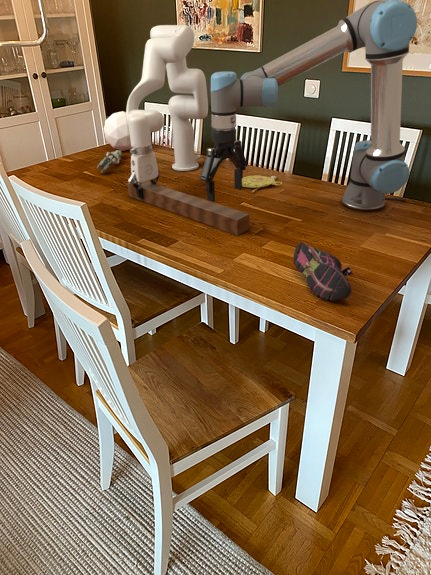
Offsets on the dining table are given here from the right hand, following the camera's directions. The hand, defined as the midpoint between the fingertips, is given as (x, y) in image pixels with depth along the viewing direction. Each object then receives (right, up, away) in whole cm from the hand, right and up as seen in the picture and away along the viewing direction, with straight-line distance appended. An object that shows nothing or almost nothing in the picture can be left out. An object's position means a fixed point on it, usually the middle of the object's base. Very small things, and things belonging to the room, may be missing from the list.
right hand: (224, 194), depth 146 cm
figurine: (-54, +29, +68) cm, 92 cm away
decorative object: (+15, +13, +40) cm, 45 cm away
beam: (-15, -2, +18) cm, 23 cm away
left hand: (-30, +6, +29) cm, 42 cm away
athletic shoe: (+27, -30, -27) cm, 48 cm away
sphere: (-52, +44, +92) cm, 114 cm away
